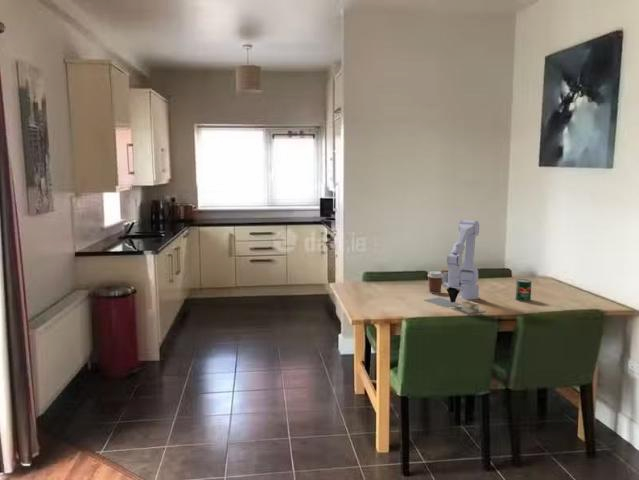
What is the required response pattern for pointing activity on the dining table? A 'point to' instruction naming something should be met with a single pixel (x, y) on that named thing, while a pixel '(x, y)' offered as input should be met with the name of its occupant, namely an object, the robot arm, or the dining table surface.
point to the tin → (445, 276)
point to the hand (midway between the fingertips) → (453, 302)
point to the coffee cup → (435, 282)
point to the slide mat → (451, 305)
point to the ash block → (469, 307)
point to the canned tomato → (523, 290)
